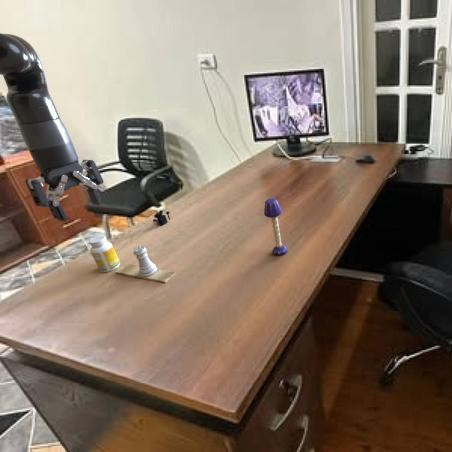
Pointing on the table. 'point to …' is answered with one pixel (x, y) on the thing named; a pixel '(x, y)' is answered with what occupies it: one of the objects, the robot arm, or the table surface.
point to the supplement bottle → (103, 254)
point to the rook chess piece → (144, 262)
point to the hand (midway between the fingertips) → (80, 211)
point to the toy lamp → (275, 224)
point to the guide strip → (134, 272)
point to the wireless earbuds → (161, 218)
